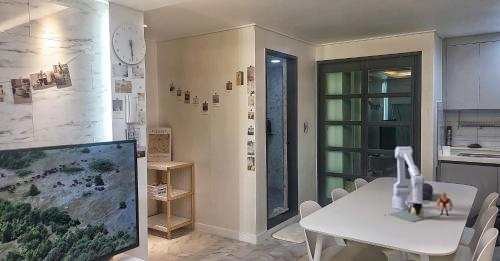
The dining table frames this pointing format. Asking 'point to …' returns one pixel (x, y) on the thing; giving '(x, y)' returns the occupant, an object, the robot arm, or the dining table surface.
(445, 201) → the action figure
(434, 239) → the dining table surface
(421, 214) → the tan piece
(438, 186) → the dining table surface
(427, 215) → the board
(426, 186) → the portable speaker
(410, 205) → the hinge post
